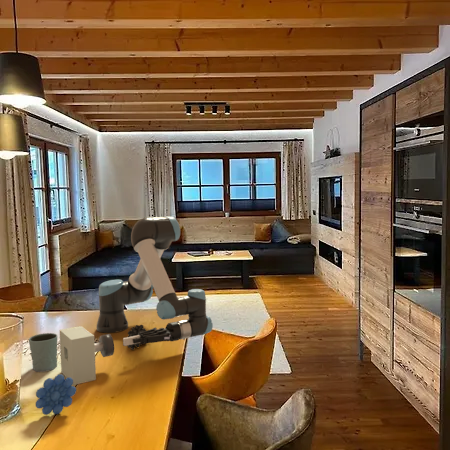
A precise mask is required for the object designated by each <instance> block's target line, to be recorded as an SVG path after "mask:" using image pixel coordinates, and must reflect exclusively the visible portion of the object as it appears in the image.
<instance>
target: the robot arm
mask: <svg viewBox="0 0 450 450" xmlns="http://www.w3.org/2000/svg"><path fill="white" fill-rule="evenodd" d="M130 234H131V235H130V240H131V246H132V247H133V250H134V252H136V253H138V256H139V258H140V259H139V262H138V265H137V266H136V268H135V271H134V272H133V273H132V274H130V276H128V277H129V278H128V280H125V281H124V280H122V279H110V280H107V281H104V282H102V283H100V284H99V286H98V294H97V295H98V303H99V316H98V319H97V322H96V325H95V326H96V331H97V332H99V333H103V334H104V333H106V334H111V333H119V332H123V331H125V330H127V329H128V328H129V322H128V319H127V317H126V314H125V307H124V306H127V305H135V304H138V303H144V302H147V301H149V300H150V299H151V298H152V296H153V293H155V295H156V298H157V300H158V303H156V308H155V309H156V314H157V316H158V317H159V318H160V319H161V320H171V319H175V318H178V317H182V316H187V315H188V319H183V320H177V321H172V322H168V323H167V324H166V326H165V327H160V328H157V327H153V328H151V329H146V331H143V332H140V333H138V335H136V336H131V337H128V336H127V337H123V338H122V342H123V343H122V345H123V346H124V347H128V346H127V345H132V344H137V343H144V344H145V345H147V344H154V343H161V342H174V341H175V342H177V341H179V340H184V341H185V340H186V339H188V338H193V337H198V336H203V335H207V334H208V333H210V332H212V330H213V322H212V318H211V317H210V316H209V315H207V303H206V302H207V299H206V297H207V296H206V292H205V290H203V289H199V288H192V289H189V290H188V291H187V295H185V296H182V297H181V296H180V297H178V296H177V293H176V291H175V289H174V287H173V284H172V282H171V280H170V278H169V275H168V274H167V271H166V268H165V267H164V264H163V262H162V259H161V258H162V255H163V253H164V252H165V251H166V250H167V249H169V248H170V246H171V244H172V242H176V241H178V240H179V239H180V236H181V227H180V223H179V222H178V220H177V218H175V217H174V216H167V215H165V216H153V217H142V218H141V219H139V220H137V222H135V224H134V225H133V226H132V230H131V233H130Z"/></svg>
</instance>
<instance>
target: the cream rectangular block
mask: <svg viewBox="0 0 450 450" xmlns="http://www.w3.org/2000/svg"><path fill="white" fill-rule="evenodd" d="M95 343H96V342H95V335H94V334H93V333H91V332H90V331H89V330H87V329H86V328H85V327H83V326H82V325H79V326H74V327H67V328H62V329H59V346H60V347H59V348H60V368H61V370H60V371H61V374H62V375H63V376H64V378H65V377H66V378H69V377H70V378H72V379H73V384H72V386H76V385H80V384H83V383H88V382H92V381H96V380H97V374H96V373H97V371H96V368H97V367H96V352H95ZM66 378H65V379H66Z"/></svg>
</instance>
